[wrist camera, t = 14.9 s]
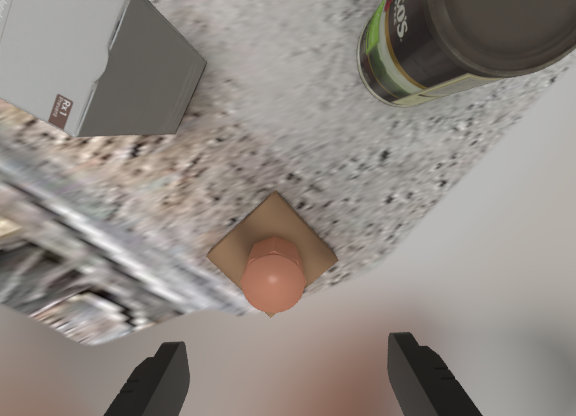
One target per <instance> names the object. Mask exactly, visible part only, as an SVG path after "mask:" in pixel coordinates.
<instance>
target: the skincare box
mask: <svg viewBox="0 0 576 416" xmlns="http://www.w3.org/2000/svg"><path fill="white" fill-rule="evenodd" d="M205 65H206V60H205V59H204V58H203V57H202V56H201V55H200V54H199V53H198V52H197V51H196V50H195V49H194V47H193V46H192V45H191V44H190V43H189V42H188V41H187V40H186V39H185V38H184V37H183V36H182V35H181V34H180V33H179V32H178V31H177V30H176V29H175V28H174V27H173V26H172V25H171V23H170V22H169V21H168V20H167V19H166V18H165V17H164V16H163V15H162V14H161V13H160V12H159V11H158V10H157V9H156V8H155V7H154V6H153V4H152V3H151V2H150V1H149V0H0V99H2V100H4V101H6V102H8V103H10V104H12V105H14V106H15V107H17V108H19V109H21V110H23V111H25V112H27V113H29V114H31V115H33V116H35V117H36V118H38V119H40V120H42V121H44V122H46V123H48V124H50V125H52V126H54V127H56V128H58V129H60V130H62V131H63V132H65V133H67V134H69V135H71V136H73V137H93V136H118V135H163V134H175V132H176V130H177V128H178V126H179V124H180V121H181V119H182V117H183V115H184V112H185V110H186V108H187V106H188V103H189V101H190V99H191V97H192V94H193V92H194V90H195V88H196V85H197V83H198V81H199V79H200V76H201V74H202V72H203V69H204V67H205Z"/></svg>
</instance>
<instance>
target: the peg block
mask: <svg viewBox="0 0 576 416" xmlns="http://www.w3.org/2000/svg"><path fill="white" fill-rule="evenodd" d="M273 236H277V237H279V238H281V239H284V240H286V241H289V242H291V243H294V244H295V245H296V248H297V250H298V253H299V255H300V258H301V260H302V263H303V268H304V273H305V278H306V284H305V286H304V289H305V288H306V287H308V286H309V285H310V284H311V283H312V282H313V281H315V280H316V279H317V278H318V277H319V276H321V275H322V274H323V273H324V272H325V271H326V270H328V269H329V268H330V267H331V266H332V265H333V264H335V263H336V262H337V261H338V259H337V257H336V255H335V253H334V252H333V251H332V250H331V249H330V248H329V247H328V246H327V245H326V243H325V242H324V241H323V240H322V239H321V238H320V237H319V236H318V235H317V234H316V233H315V232H314V231H313V230H312V229H311V228H310V226H309V225H308V224H307V223H306V222H305V221H304V220H303V219H302V218H301V217H300V216H299V215H298V214H297V213H296V212H295V211H294V209H293V208H292V207H291V206H290V205H289V204H288V203H287V202H286V201H285V200H284V199H283V198H282V197H281V196H280V195H279V194H278V192H277V191H276V190H275V191H274V192H272V193H271V194H270V195H269V196H268V197H267V198H266V199H265V200H264V201H263V202H262V203H261V204H259V205H258V206H257V207H256V208H255V209H254V210H253V211H252V212H251V213H250V214H249V215H248V216H246V217H245V218H244V219H243V220H242V221H241V222H240V223H239V224H238V225H237V226H236V227H235V228H233V229H232V230H231V231H230V232H229V233H228V234H227V235H226V236H225V237H224V238H223V239H221V240H220V241H219V242H218V243H217V244H216V245H215V246H214V247H213V248H212V249H211V250H210V251H209V253H208V254H207V255H206V257H207V258H208V259H209V260H210V261H211V262H212V263H213V264H214V265H216V266H217V267H218V268H219V269H220V270H221V271H222V272H223V273H224V274H225V275H226V276H227V277H228V278H229V279H230V280H231V281H232V282H233V283H235V284H236V285H237V286H238V287H239V288H240V289H241V290H242V291H243V289H242V285H241V283H240V281H241V278H242V274H243V271H244V268H245V264H246V261H247V259H248V257H249V255H250V252H251V250H252V248H253V245H254V243H257V242H260V241H262V240H265V239H268V238H270V237H273ZM265 313H266V314H267V315H268V316H270V317H272V316H273V315H274V314H276V313H268V312H265Z"/></svg>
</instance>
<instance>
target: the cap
mask: <svg viewBox="0 0 576 416" xmlns="http://www.w3.org/2000/svg"><path fill="white" fill-rule="evenodd" d="M240 283H241V285H242V289H243V293H244V295H245V297H246V299H247V300H248V302H249V303H250V304H251V305H252V306H254V307H255V308H257V309H258V310H261V311H264V312H268V313H278V312H282V311H285V310H288V309H290V308H291V307H293V306H294V305H295V304H296V303H297V302H298V301H299V299H300V298H301V296H302V294H303V290H304V286H305V284H306V278H305V273H304V268H303V263H302V260H301V258H300V255H299V253H298V250H297V248H296V245H295V244H294V243H291V242H289V241H286V240H284V239H281V238H279V237H277V236H273V237H270V238H268V239H265V240H262V241H260V242H257V243H254V245H253V248H252V250H251V252H250V255H249V257H248V259H247V261H246V264H245V268H244V271H243V274H242V278H241V281H240Z"/></svg>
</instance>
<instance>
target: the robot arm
mask: <svg viewBox="0 0 576 416" xmlns="http://www.w3.org/2000/svg"><path fill="white" fill-rule="evenodd" d="M387 365H388V366H387V368H388V375H389V380H390V383H391V386H392V388H393V390H394V393H395V395H396V398H397V400H398V402H399V404H400V407H401V409H402V411H403V414H404V416H483V415H482V414H481V413H480V411H479V410H478V408H477V407H476V406H475V405H474V403H473V402H472V400H471V399H470V398H469V396H468V395H467V393H466V392H465V391H464V389H463V388H462V386H461V385H460V383H459V382H458V381H457V380H456V379H455V377H454V375H453V374H452V373H451V371H450V370H448V367H447V365H446V364H445V363H444V361H443V360H442V358H441V357H440V356H439V355H438V354H437V353H435V352H434V351H433V350H432V349H430V348H429V347H428V346H419V345H418V343H417V341H416V340H415V338H414V337H413V335H412V334H411V333H410V332H402V333H401V332H399V333H390V334H389V338H388V364H387ZM189 382H190V373H189V366H188V359H187V354H186V346H185V343H184V342H183V341H182V342H164V343H162V345H161V346H160V348H159V349H158V351H157V352H156V354H155V356H154V357H148V358H146V359H145V360H144V361H143V362H142V363H141V364H139V365H138V366H137V367H136V368H135V369H134V371H133V372H132V374H131V375H130V377H129V378H128V380H127V383H125V384H124V386H123V387H122V389H121V390H120V393H119V394H118V395H117V396H116V398H115V399H114V401H113V402H112V404H111V405H110V407H109V408H108V410H107V412H106V413H105V414H104V416H178V415H179V412H180V410H181V408H182V405H183V403H184V400H185V397H186V395H187V392H188V388H189Z"/></svg>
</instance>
